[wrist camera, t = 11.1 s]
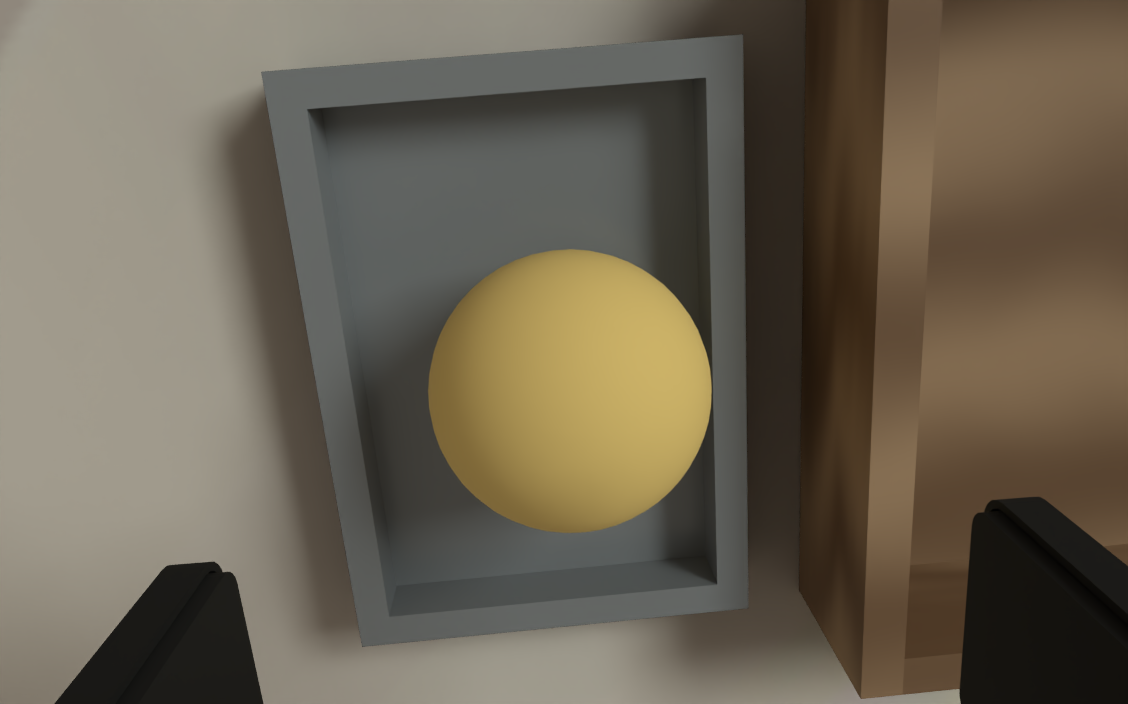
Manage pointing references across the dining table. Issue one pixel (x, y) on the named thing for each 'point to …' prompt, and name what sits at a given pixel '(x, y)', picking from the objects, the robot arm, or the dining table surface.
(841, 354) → the walnut box
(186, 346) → the dining table surface
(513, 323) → the ball
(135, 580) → the dining table surface
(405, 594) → the dish
